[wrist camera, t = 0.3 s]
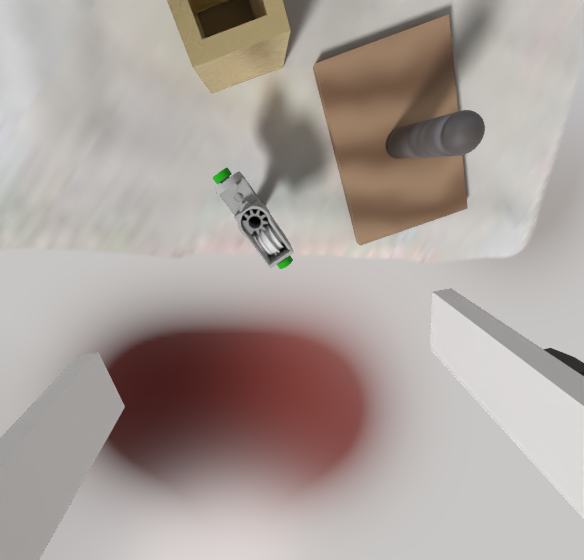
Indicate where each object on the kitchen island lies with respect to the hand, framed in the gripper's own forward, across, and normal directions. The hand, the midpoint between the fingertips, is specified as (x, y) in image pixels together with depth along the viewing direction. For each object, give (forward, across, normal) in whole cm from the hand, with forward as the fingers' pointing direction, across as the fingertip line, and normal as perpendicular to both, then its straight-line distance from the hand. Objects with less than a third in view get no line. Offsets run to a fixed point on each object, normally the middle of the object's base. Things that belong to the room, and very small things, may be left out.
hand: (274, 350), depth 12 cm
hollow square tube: (+27, 0, +19) cm, 33 cm away
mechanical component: (+27, -1, +2) cm, 27 cm away
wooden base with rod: (+27, +16, +6) cm, 32 cm away
